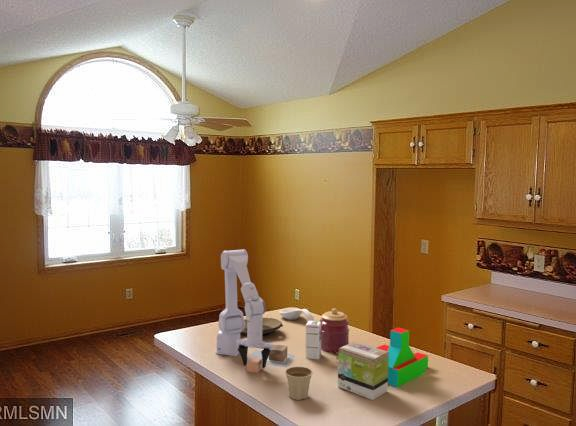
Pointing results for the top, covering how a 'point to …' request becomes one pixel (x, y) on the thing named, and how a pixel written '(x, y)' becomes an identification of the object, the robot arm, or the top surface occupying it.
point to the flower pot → (298, 382)
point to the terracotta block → (254, 364)
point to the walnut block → (278, 353)
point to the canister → (334, 331)
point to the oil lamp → (266, 325)
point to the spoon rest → (296, 314)
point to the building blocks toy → (403, 359)
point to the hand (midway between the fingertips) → (254, 366)
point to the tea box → (363, 370)
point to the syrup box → (313, 339)
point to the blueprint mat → (274, 363)
